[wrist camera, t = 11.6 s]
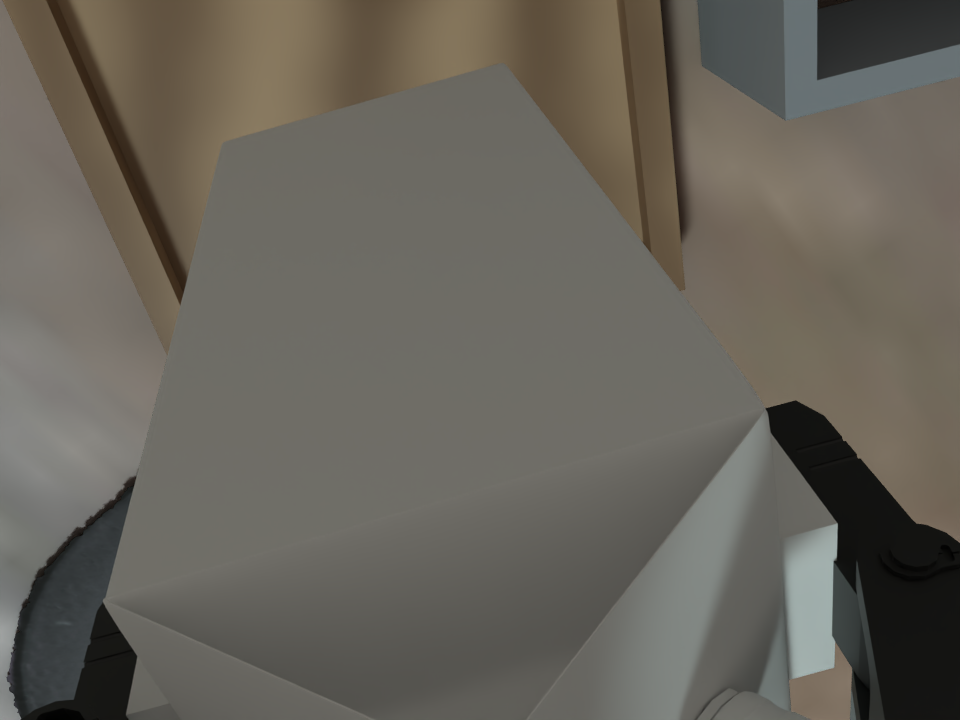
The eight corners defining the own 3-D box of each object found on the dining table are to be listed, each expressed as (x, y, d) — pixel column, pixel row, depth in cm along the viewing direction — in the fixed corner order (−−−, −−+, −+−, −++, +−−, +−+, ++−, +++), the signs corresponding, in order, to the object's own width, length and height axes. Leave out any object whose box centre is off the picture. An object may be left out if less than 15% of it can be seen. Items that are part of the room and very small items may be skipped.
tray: (619, -239, 28) (638, -242, 26) (668, 268, 38) (685, 289, 36) (-14, -87, 28) (-35, -80, 26) (200, 388, 37) (195, 416, 35)
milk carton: (315, 376, 25) (328, 1336, 10) (219, 138, 22) (-32, 1077, 6) (557, 306, 26) (973, 1140, 10) (504, 57, 22) (1050, 756, 6)
